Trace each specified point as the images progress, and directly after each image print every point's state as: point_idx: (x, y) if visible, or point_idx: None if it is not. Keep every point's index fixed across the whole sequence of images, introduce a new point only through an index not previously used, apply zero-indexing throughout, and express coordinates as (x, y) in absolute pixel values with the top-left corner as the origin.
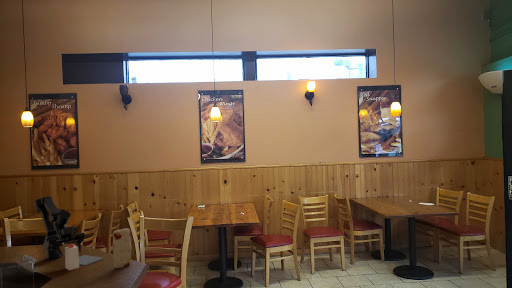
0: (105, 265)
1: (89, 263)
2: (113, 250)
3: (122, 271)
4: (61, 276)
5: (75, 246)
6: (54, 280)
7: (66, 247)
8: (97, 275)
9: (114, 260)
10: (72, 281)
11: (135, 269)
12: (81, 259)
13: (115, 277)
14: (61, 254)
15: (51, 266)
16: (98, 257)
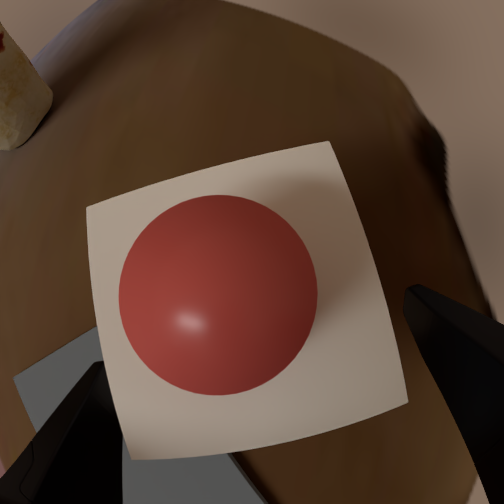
0: (49, 201)
1: None
2: (3, 34)
3: (62, 67)
4: (357, 144)
5: (119, 314)
6: (392, 103)
7: (363, 392)
8: (156, 53)
9: (34, 71)
10: (289, 37)
11: None
12: (154, 493)
13: (117, 20)
14: (425, 287)
15: (409, 485)
16: (38, 424)
